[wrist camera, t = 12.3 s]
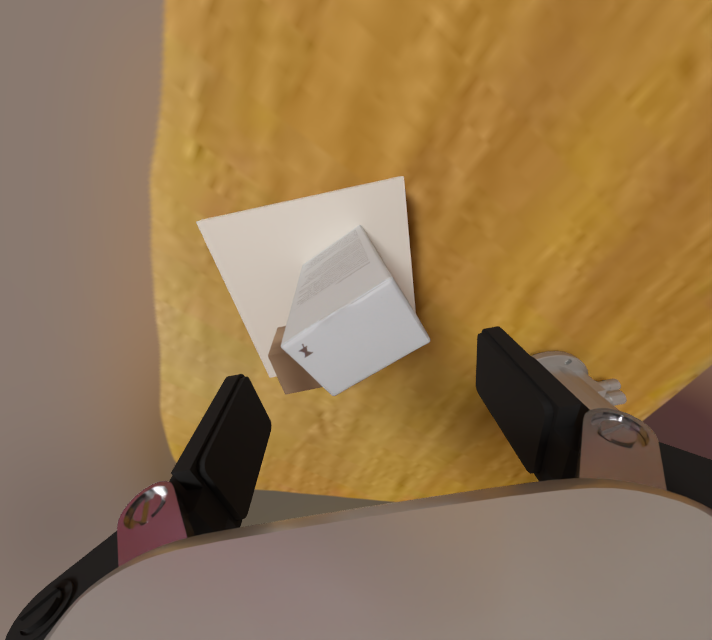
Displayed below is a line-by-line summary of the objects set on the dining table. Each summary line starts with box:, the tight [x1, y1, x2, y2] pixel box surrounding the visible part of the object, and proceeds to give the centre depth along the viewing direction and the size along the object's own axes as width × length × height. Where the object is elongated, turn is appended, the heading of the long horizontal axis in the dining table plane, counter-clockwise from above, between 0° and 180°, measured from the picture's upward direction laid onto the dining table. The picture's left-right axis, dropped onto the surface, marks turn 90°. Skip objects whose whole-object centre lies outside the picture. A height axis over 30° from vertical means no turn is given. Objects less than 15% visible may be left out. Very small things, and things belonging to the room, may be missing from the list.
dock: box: [196, 176, 416, 378], centre depth 25 cm, size 16×16×3 cm
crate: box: [268, 326, 322, 394], centre depth 24 cm, size 4×4×4 cm
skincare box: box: [281, 225, 430, 396], centre depth 17 cm, size 6×4×12 cm
